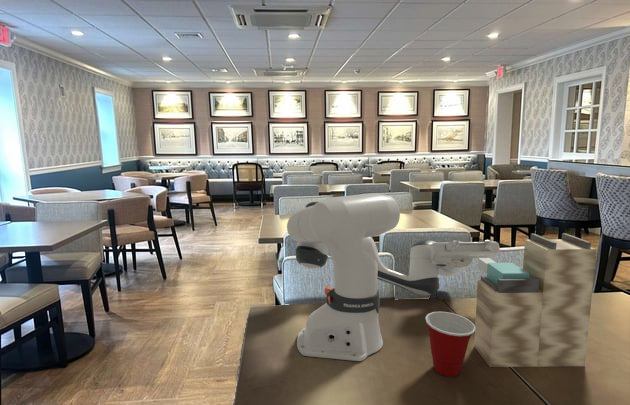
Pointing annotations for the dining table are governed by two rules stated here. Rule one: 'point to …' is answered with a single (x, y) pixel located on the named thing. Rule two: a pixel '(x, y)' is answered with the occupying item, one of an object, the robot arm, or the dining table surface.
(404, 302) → the dining table surface
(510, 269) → the plug
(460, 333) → the plastic cup
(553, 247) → the zigzag stepped block
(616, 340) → the dining table surface
